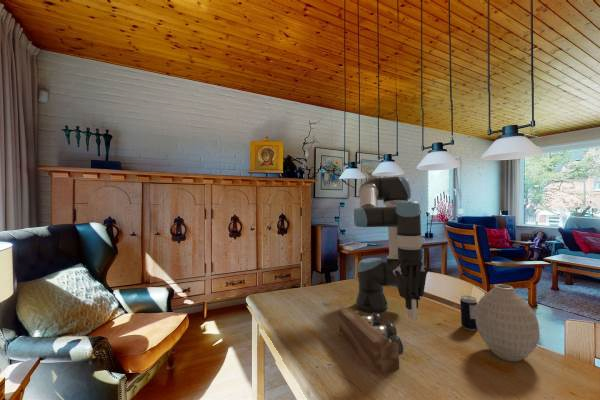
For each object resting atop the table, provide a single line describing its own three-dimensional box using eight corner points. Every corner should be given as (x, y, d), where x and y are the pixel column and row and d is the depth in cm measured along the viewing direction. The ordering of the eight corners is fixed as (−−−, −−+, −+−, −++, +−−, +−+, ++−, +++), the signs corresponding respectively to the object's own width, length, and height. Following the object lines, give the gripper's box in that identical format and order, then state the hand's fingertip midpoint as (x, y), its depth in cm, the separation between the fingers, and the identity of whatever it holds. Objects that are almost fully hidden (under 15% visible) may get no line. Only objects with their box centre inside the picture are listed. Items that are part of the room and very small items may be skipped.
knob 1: (375, 324, 105) (374, 310, 105) (382, 330, 99) (382, 315, 99) (355, 327, 102) (354, 313, 103) (362, 333, 97) (361, 318, 97)
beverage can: (476, 325, 104) (474, 295, 104) (480, 332, 98) (479, 300, 99) (459, 324, 106) (458, 294, 106) (463, 330, 100) (462, 299, 101)
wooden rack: (357, 328, 104) (356, 306, 105) (399, 368, 78) (398, 339, 79) (339, 332, 102) (338, 309, 103) (375, 374, 76) (374, 343, 77)
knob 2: (387, 334, 96) (387, 319, 96) (397, 341, 90) (396, 325, 91) (366, 338, 94) (366, 322, 94) (374, 346, 88) (374, 329, 88)
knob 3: (393, 349, 86) (392, 332, 86) (403, 358, 81) (402, 340, 81) (369, 353, 84) (368, 336, 84) (378, 363, 79) (378, 345, 79)
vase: (526, 378, 72) (521, 298, 73) (466, 350, 87) (463, 284, 87) (551, 360, 80) (547, 288, 80) (492, 337, 94) (489, 276, 95)
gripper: (418, 244, 91) (421, 310, 91) (385, 247, 88) (388, 316, 88) (434, 247, 84) (437, 320, 84) (399, 251, 81) (402, 326, 81)
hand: (412, 318), depth 86 cm, fingers closed
